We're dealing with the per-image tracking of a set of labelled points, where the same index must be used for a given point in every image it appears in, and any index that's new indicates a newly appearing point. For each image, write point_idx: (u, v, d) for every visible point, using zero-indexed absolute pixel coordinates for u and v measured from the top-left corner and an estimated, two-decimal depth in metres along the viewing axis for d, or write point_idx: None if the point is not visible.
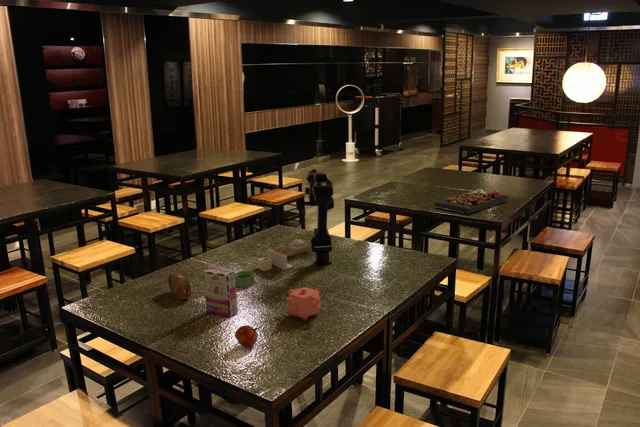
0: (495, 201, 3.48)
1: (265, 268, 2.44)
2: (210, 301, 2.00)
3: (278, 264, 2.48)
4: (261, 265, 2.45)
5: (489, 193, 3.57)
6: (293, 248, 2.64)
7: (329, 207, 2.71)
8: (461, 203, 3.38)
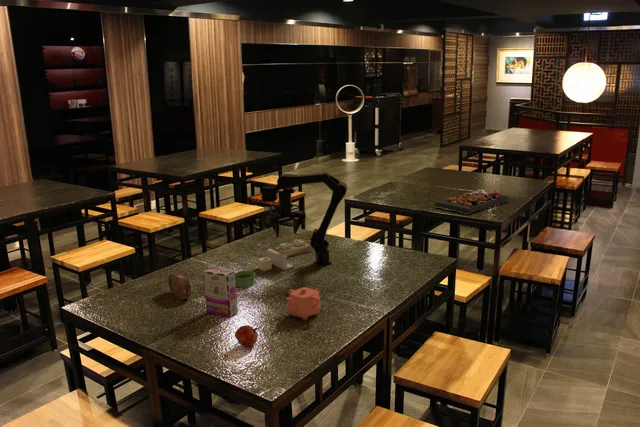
0: (496, 201, 3.47)
1: (265, 268, 2.44)
2: (210, 301, 2.00)
3: (278, 264, 2.48)
4: (261, 265, 2.45)
5: (490, 193, 3.56)
6: (293, 248, 2.64)
7: (302, 217, 2.50)
8: (461, 203, 3.38)
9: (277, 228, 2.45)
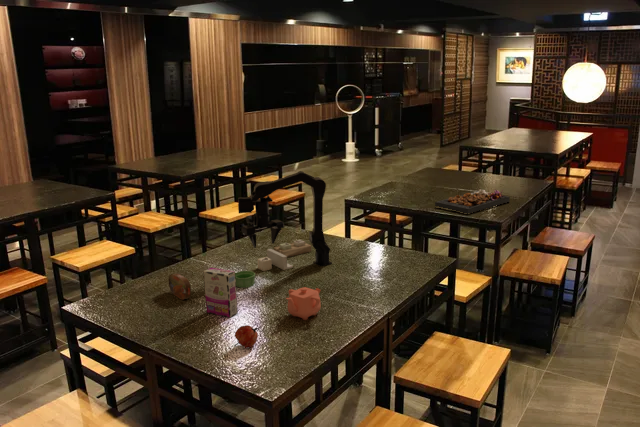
0: (496, 202, 3.47)
1: (265, 268, 2.44)
2: (210, 301, 2.00)
3: (278, 264, 2.48)
4: (261, 265, 2.45)
5: (491, 193, 3.55)
6: (293, 248, 2.64)
7: (280, 226, 2.44)
8: (461, 203, 3.38)
9: (254, 238, 2.38)
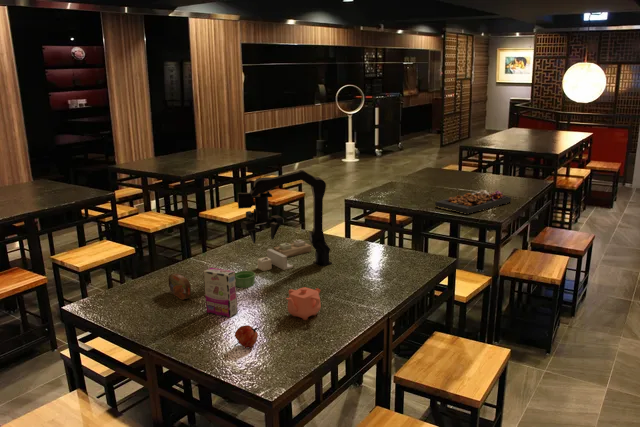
0: (497, 202, 3.46)
1: (265, 268, 2.44)
2: (210, 301, 2.00)
3: (278, 264, 2.48)
4: (261, 265, 2.45)
5: (492, 194, 3.55)
6: (293, 248, 2.64)
7: (279, 222, 2.43)
8: (461, 203, 3.38)
9: (253, 234, 2.37)
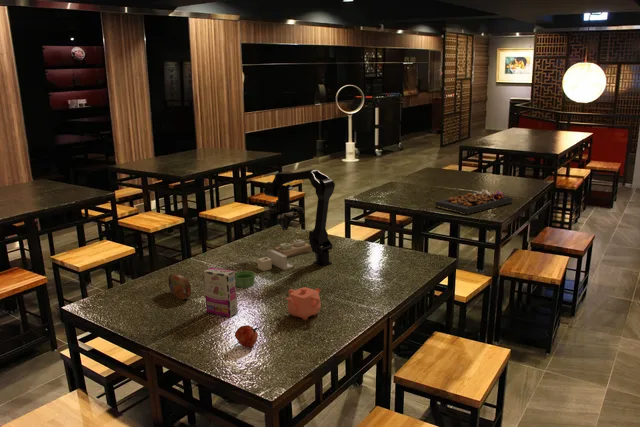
0: (498, 202, 3.45)
1: (265, 268, 2.44)
2: (210, 301, 2.00)
3: (278, 264, 2.48)
4: (261, 265, 2.45)
5: (493, 194, 3.54)
6: (293, 248, 2.64)
7: (300, 212, 2.62)
8: (461, 203, 3.38)
9: (283, 221, 2.59)
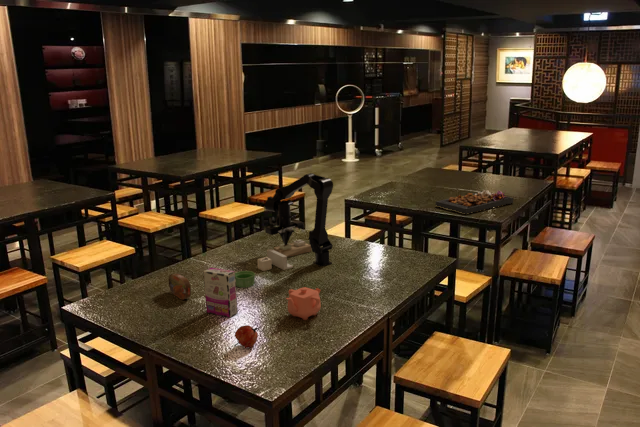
0: (498, 202, 3.45)
1: (265, 268, 2.44)
2: (210, 301, 2.00)
3: (278, 264, 2.48)
4: (261, 265, 2.45)
5: (494, 194, 3.53)
6: (293, 248, 2.64)
7: (300, 227, 2.64)
8: (460, 203, 3.38)
9: (285, 236, 2.61)
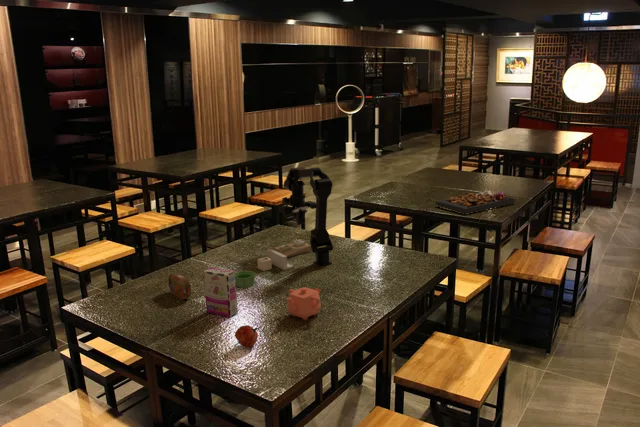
0: (499, 203, 3.44)
1: (265, 268, 2.44)
2: (210, 301, 2.00)
3: (278, 264, 2.48)
4: (261, 265, 2.45)
5: (495, 194, 3.52)
6: (293, 248, 2.64)
7: (313, 207, 2.69)
8: (460, 203, 3.38)
9: (298, 216, 2.65)
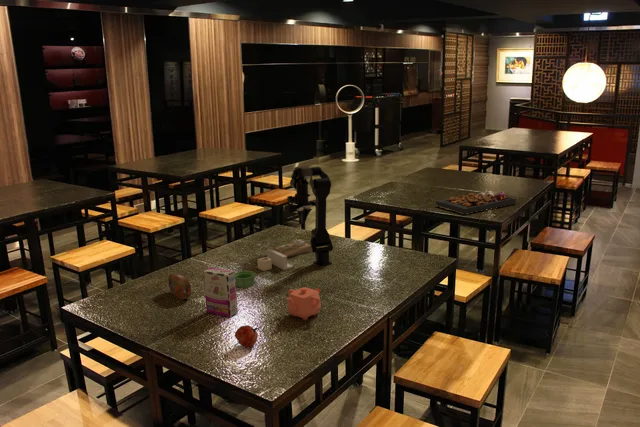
0: (499, 203, 3.43)
1: (265, 268, 2.44)
2: (210, 301, 2.00)
3: (278, 264, 2.48)
4: (261, 265, 2.45)
5: (496, 195, 3.52)
6: (293, 248, 2.64)
7: None
8: (460, 203, 3.38)
9: (303, 214, 2.67)
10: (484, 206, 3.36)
